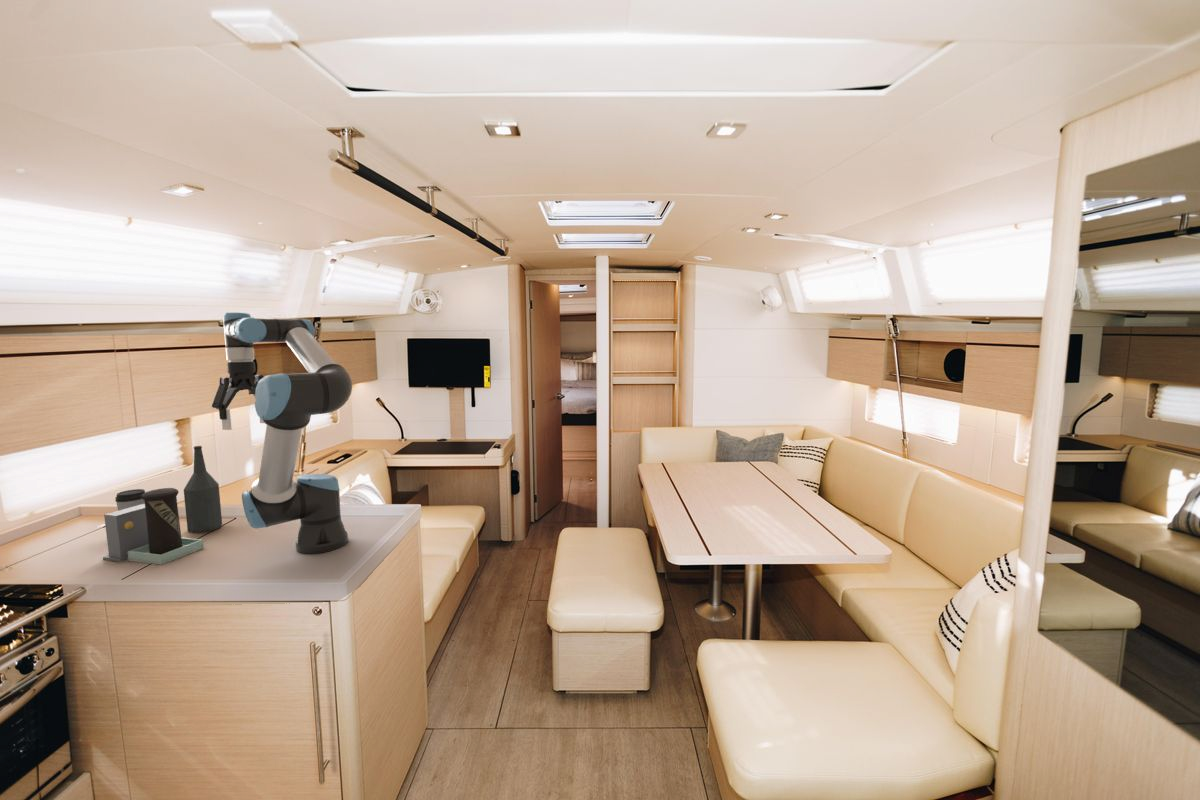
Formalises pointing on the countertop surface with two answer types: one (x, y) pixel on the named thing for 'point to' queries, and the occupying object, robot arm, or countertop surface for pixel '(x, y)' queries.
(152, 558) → the tray
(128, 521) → the box
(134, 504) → the coffee cup
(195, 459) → the bottle
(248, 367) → the robot arm
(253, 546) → the countertop surface
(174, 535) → the container
